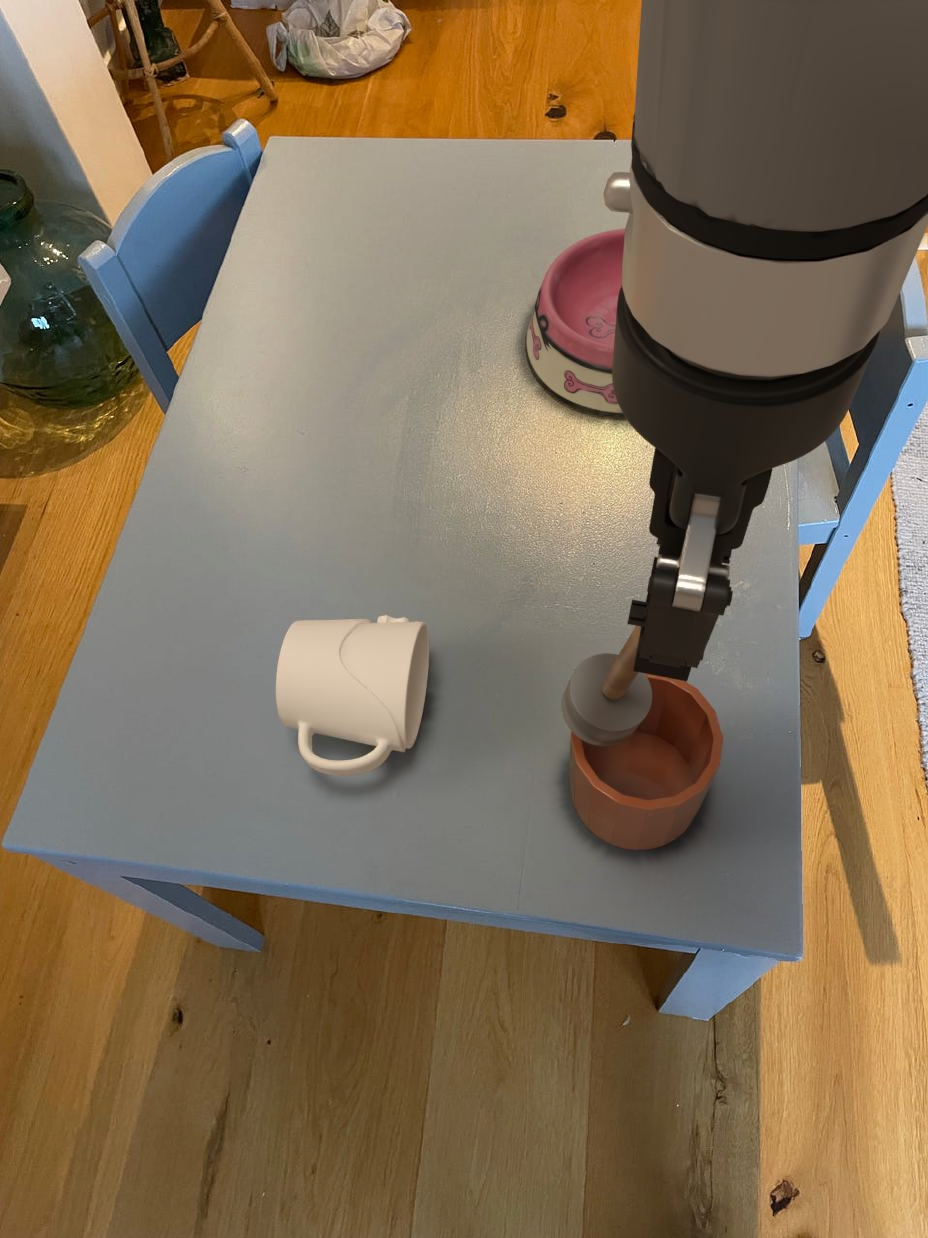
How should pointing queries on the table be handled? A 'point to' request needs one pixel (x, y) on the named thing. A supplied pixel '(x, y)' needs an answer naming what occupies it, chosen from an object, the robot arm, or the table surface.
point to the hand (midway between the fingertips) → (664, 651)
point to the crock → (649, 770)
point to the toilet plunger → (607, 696)
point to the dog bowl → (579, 324)
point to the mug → (353, 686)
